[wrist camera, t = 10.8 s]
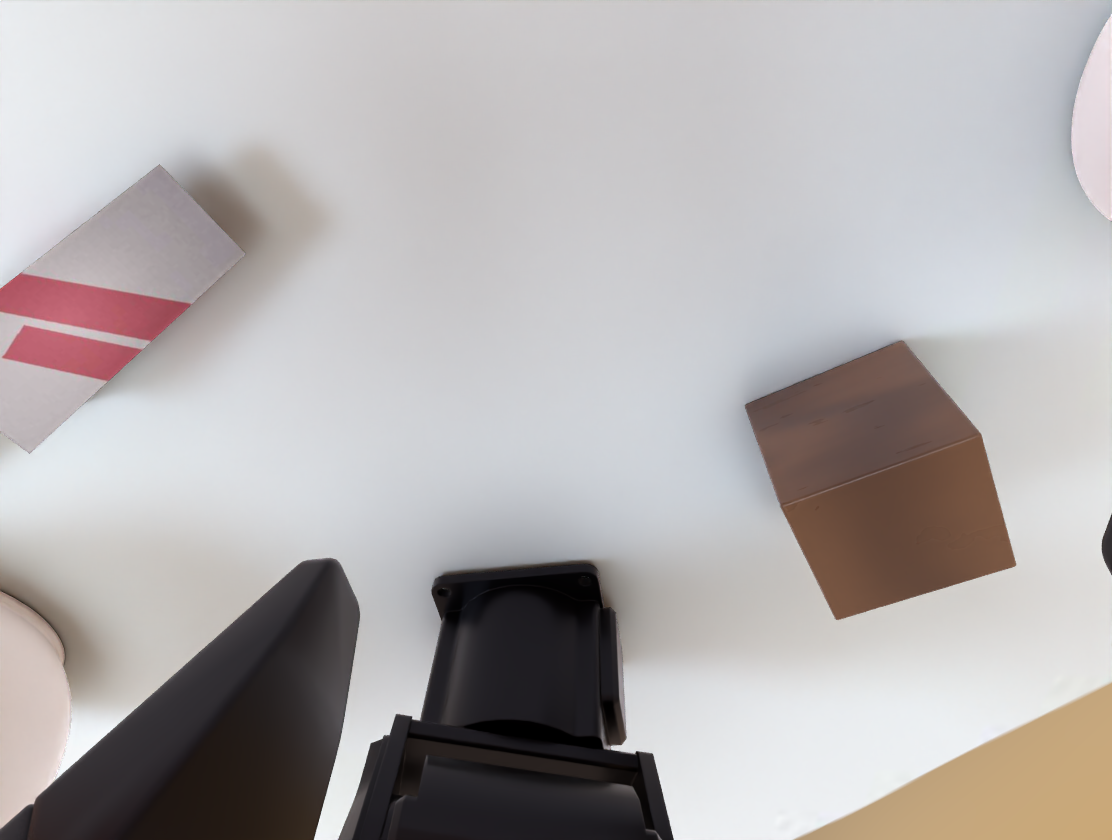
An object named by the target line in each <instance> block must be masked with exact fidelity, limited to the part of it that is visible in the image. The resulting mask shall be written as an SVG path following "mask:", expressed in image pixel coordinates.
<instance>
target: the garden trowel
mask: <svg viewBox="0 0 1112 840" xmlns="http://www.w3.org/2000/svg"><path fill="white" fill-rule="evenodd" d="M245 255H246V253H245V252H244V251H243V250H242V249H241V248H240V247H239V246H238V245H237V244H236V243H235V242H234V241H233V240H232V239H231V238H230V237H229V236H228V235H227V234H226V233H225V231H224V230H223V229H222V228H221V227H220V226H219V225H218V224H217V223H216V222H215V221H214V220H213V219H212V218H211V217H210V216H209V215H208V214H207V213H206V212H205V211H204V210H203V209H202V208H201V207H200V206H199V205H198V203H197V202H196V201H195V200H194V199H193V198H192V197H191V196H190V195H189V194H188V193H187V192H186V191H185V190H184V189H183V188H182V187H181V186H180V185H179V184H178V183H177V182H176V181H175V180H174V179H173V178H172V176H171V175H170V174H169V173H168V172H167V171H166V170H165V169H164V168H163V167H162V166H161V165H160V164H159V165H158V166H157V167H155V168H154V169H153V170H152V171H150V172H149V173H148V174H147V175H145V176H144V177H143V178H141V179H140V180H139V181H138V182H136V183H135V184H134V185H132V186H131V187H130V188H129V189H127V190H126V191H125V192H124V193H122V194H121V195H120V196H118V197H117V198H116V199H115V200H113V201H112V202H111V203H109V204H108V205H107V206H106V207H104V208H103V209H102V210H101V211H99V212H98V213H97V214H95V215H94V216H93V217H92V218H90V219H89V220H88V221H86V222H85V223H84V224H83V225H81V226H80V227H79V228H78V229H76V230H75V231H74V232H72V233H71V234H70V235H69V236H67V237H66V238H65V239H63V240H62V241H61V242H60V243H58V244H57V245H56V246H55V247H53V248H52V249H51V250H49V251H48V252H47V253H46V254H44V255H43V256H42V257H40V258H39V259H38V260H37V261H35V262H34V263H33V264H32V265H30V266H29V267H28V268H26V269H25V270H24V271H23V272H21V273H20V274H19V275H17V276H16V277H15V278H14V279H12V280H11V281H10V282H8V283H7V284H6V285H5V286H3V287H2V288H1V289H0V432H1V433H2V434H4V435H5V436H6V437H8V438H9V439H10V440H12V441H13V442H15V443H16V444H17V445H19V446H20V447H21V448H23V449H24V450H25V451H27V452H28V453H29V454H30V453H31V452H32V451H33V450H34V449H35V448H36V447H37V446H38V445H40V444H41V443H42V442H43V441H44V440H45V439H46V438H47V437H48V436H49V435H50V434H52V433H53V432H54V431H55V430H56V429H57V428H58V427H59V426H60V425H61V424H62V423H63V422H65V421H66V420H67V419H68V418H69V417H70V416H71V415H72V414H73V413H74V412H75V411H76V410H78V409H79V408H80V407H81V406H82V405H83V404H84V403H85V402H86V401H87V400H88V399H89V398H91V397H92V396H93V395H94V394H95V393H96V392H97V391H98V390H99V389H100V388H101V387H102V386H104V385H105V384H106V383H107V382H108V381H109V380H110V379H111V378H112V377H113V376H114V375H116V374H117V373H118V372H119V371H120V370H121V369H122V368H123V367H124V366H125V365H126V364H127V363H129V362H130V361H131V360H132V359H133V358H134V357H135V356H136V355H137V354H138V353H139V352H140V351H142V350H143V349H144V348H145V347H146V346H147V345H148V344H149V343H150V342H151V341H152V340H153V339H155V338H156V337H157V336H158V335H159V334H160V333H161V332H162V331H163V330H164V329H165V328H166V327H168V326H169V325H170V324H171V323H172V322H173V321H174V320H175V319H176V318H177V317H178V316H180V315H181V314H182V313H183V312H184V311H185V310H186V309H187V308H188V307H189V306H190V305H191V304H193V303H194V302H195V301H196V300H197V299H198V298H199V297H200V296H201V295H202V294H203V293H204V292H206V291H207V290H208V289H209V288H210V287H211V286H212V285H213V284H214V283H215V282H216V281H217V280H219V279H220V278H221V277H222V276H223V275H224V274H225V273H226V272H227V271H228V270H229V269H230V268H232V267H233V266H234V265H235V264H236V263H237V262H238V261H239V260H240V259H241V258H242V257H243V256H245Z"/></svg>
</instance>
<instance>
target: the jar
mask: <svg viewBox="0 0 1112 840" xmlns="http://www.w3.org/2000/svg"><path fill="white" fill-rule="evenodd" d="M1071 147H1072V155H1073V161H1074V166H1075V170H1076V173H1077V176H1078V179H1079V182H1080V184H1081V186H1082V188H1083V190H1084V192H1085V194H1086V195H1087V197H1088V198H1089V200H1090V201H1091V203H1092V204H1093V205H1094V206H1095V207H1096V208H1097V209H1098V210H1099V211H1100V212H1101V213H1102V214H1103V215H1104V216H1105V217H1106V218H1107V219H1109V220H1110V221H1112V14H1111V16H1110V17H1109V19H1108V21H1107V23H1106V24H1105V26H1104V28H1103V29H1102V31H1101V33H1100V35H1099V37H1098V39H1097V41H1096V43H1095V45H1094V47H1093V50H1092V52H1091V54H1090V57H1089V59H1088V61H1087V64H1086V66H1085V69H1084V71H1083V74H1082V77H1081V80H1080V84H1079V87H1078V91H1077V95H1076V100H1075V104H1074V109H1073V116H1072V129H1071Z"/></svg>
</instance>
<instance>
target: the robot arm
mask: <svg viewBox="0 0 1112 840" xmlns="http://www.w3.org/2000/svg"><path fill="white" fill-rule="evenodd" d="M1102 554H1103V558H1104V561H1105V563H1106V565H1107V567H1108V569H1109V571H1110V573H1111V575H1112V514H1111V517H1110V520H1109V523H1108V525H1107V528H1106V531H1105V533H1104V536H1103V539H1102ZM583 576H587V577H588V578H582V577H583ZM443 588H446V589H448V590H446V589H443ZM432 596H433V598H434V601H435V604H436V607H437V609H438V612H439V615H440V618H441V620H442V624H441V628H440V633H439V637H438V642H437V646H436V651H435V655H434V660H433V664H432V669H431V673H430V678H429V682H428V687H427V691H426V696H425V700H424V705H423V709H422V714H421V718H420V721H419V720H413V719H412V716H406V715H400V714H396V716H395V719H394V723H393V726H392V729H391V733H390V735H387V736H386V735H384V737H383V739H381V740H379V741H376V742H374V743H371V745H370V749H369V752H368V756H367V759H366V763H365V767H364V770H363V774H362V777H361V781H360V784H359V787H358V790H357V793H356V796H355V799H354V802H353V804H352V807H351V809H350V811H349V814H348V816H347V819H346V821H345V824H344V826H343V829H342V831H341V834H340V836H339V839H338V840H674V839H673V835H672V831H671V826H670V822H669V818H668V814H667V810H666V806H665V802H664V797H663V793H662V789H661V785H660V781H659V777H658V773H657V769H656V764H655V760H654V756H653V754H652V753H646V752H639V751H636V753H635V754H633V753H627V752H620V751H614V750H611V746H613V745H622V744H623V742H624V741H625V740H626V738H627V737H626V717H625V698H624V678H623V658H622V647H621V641H620V635H619V629H618V622H617V616H616V612H615V611H614V610H613V609H611V608H610V607H609V608H604V602H603V596H602V590H601V585H600V579H599V573H598V570H597V569H596V568H595V567H594V566H592V565H590V564H577V565H565V566H554V567H542V568H530V569H519V570H507V571H496V572H484V573H472V574H461V575H449V576H441V577H438V578H436V579H435V581H434V582H433V586H432ZM359 621H360V611H359V605H358V602H357V599H356V597H355V595H354V592H353V590H352V588H351V586H350V584H349V581H348V579H347V577H346V575H345V573H344V570H343V568H342V566H341V564H340V563H339V562H338V561H337V560H336V559H333V558H324V559H314V560H306V561H303V562H301V563H300V564H298V565H297V566H296V567H295V568H294V569H293V570H291V571H290V572H289V573H288V574H287V575H286V576H285V577H284V578H282V579H281V580H280V581H279V582H278V583H277V584H276V585H275V586H273V587H272V588H271V589H270V590H269V591H268V592H267V593H266V594H264V595H263V596H262V597H261V598H260V599H259V600H258V601H257V602H255V603H254V604H253V605H252V606H251V607H250V608H249V609H248V610H246V611H245V612H244V613H243V614H242V615H241V616H240V617H239V618H237V619H236V620H235V621H234V622H233V623H232V624H231V625H230V626H228V627H227V628H226V629H225V630H224V631H223V632H222V633H221V634H219V635H218V636H217V637H216V638H215V639H214V640H213V641H212V642H210V643H209V644H208V645H207V646H206V647H205V648H204V649H203V650H201V651H200V652H199V653H198V654H197V655H196V656H195V657H194V658H192V659H191V660H190V661H189V662H188V663H187V664H186V665H185V666H183V667H182V668H181V669H180V670H179V671H178V672H177V673H176V674H174V675H173V676H172V677H171V678H170V679H169V680H168V681H167V682H165V683H164V684H163V685H162V686H161V687H160V688H159V689H158V690H156V691H155V692H154V693H153V694H152V695H151V696H150V697H149V698H147V699H146V700H145V701H144V702H143V703H142V704H141V705H140V706H138V707H137V708H136V709H135V710H134V711H133V712H132V713H131V714H129V715H128V716H127V717H126V718H125V719H124V720H123V721H122V722H120V723H119V724H118V725H117V726H116V727H115V728H114V729H113V730H111V731H110V732H109V733H108V734H107V735H106V736H105V737H104V738H102V739H101V740H100V741H99V742H98V743H97V744H96V745H95V746H93V747H92V748H91V749H90V750H89V751H88V752H87V753H86V754H84V755H83V756H82V757H81V758H80V759H79V760H78V761H77V762H75V763H74V764H73V765H72V766H71V767H70V768H69V769H68V770H66V771H65V772H64V773H63V774H62V775H61V776H60V777H59V778H57V779H56V780H55V781H54V782H53V783H52V784H51V785H50V786H48V787H47V788H46V789H45V790H44V791H43V792H42V793H41V794H39V795H38V796H37V797H36V799H35V802H34V804H29V805H27V806H26V807H25V808H23V809H22V810H21V811H20V812H19V813H18V814H17V815H16V816H14V817H13V818H12V819H11V820H10V821H9V822H8V823H7V824H5V825H4V826H3V827H2V828H1V829H0V840H314V837H315V833H316V829H317V826H318V822H319V818H320V815H321V811H322V807H323V803H324V800H325V796H326V792H327V789H328V785H329V781H330V777H331V774H332V770H333V766H334V763H335V759H336V755H337V751H338V747H339V742H340V738H341V733H342V728H343V722H344V717H345V710H346V704H347V698H348V691H349V685H350V679H351V672H352V666H353V660H354V653H355V647H356V641H357V634H358V628H359Z"/></svg>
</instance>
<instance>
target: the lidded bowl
mask: <svg viewBox="0 0 1112 840" xmlns="http://www.w3.org/2000/svg"><path fill="white" fill-rule="evenodd" d="M64 661H65V653H64V648H63V645H62V642H61V640H60V639H59V637H58V635H57V634H56V632H55V631H54V630H53V628H52V627H51V626H50V625H49V624H48V623H47V622H46V621H45V620H44V619H43V618H42V617H41V616H40V615H39V614H37V613H36V612H35V611H33V610H32V609H31V608H29V607H28V606H26V605H25V604H23V603H22V602H20V601H18V600H17V599H15V598H13V597H11V596H9V595H7V594H5V593H3V592H1V591H0V829H1V828H2V827H3V826H4V825H5V824H7V823H8V822H9V821H10V820H11V819H12V818H13V817H14V816H16V815H17V814H18V813H19V812H20V811H21V810H22V809H23V808H25V807H26V806H27V805H29V804H34V802H35V799H36V797H37V796H38V795H39V794H41V793H42V792H43V791H44V790H45V789H46V788H47V787H48V786H50V785H51V784H52V783H53V782H54V780H55V778H56V775H57V773H58V770H59V767H60V765H61V762H62V759H63V757H64V754H65V751H66V746H67V742H68V737H69V732H70V726H71V721H72V700H71V693H70V687H69V683H68V678H67V676H66V673H65V670H64V668H63V665H64Z"/></svg>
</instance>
